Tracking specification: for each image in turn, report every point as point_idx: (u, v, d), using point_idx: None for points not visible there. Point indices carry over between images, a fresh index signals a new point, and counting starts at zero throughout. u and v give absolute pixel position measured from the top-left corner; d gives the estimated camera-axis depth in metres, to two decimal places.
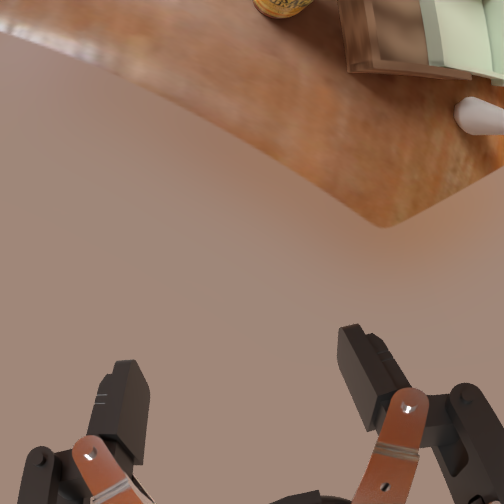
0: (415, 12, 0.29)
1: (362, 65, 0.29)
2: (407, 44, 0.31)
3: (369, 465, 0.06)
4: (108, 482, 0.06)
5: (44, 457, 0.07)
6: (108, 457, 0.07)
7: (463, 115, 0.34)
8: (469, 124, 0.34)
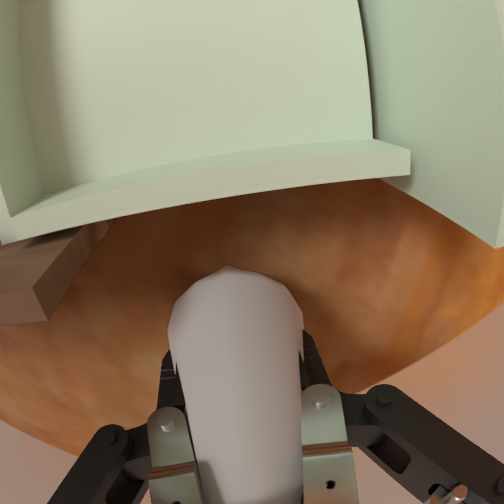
0: None
1: None
2: None
3: (304, 470, 0.06)
4: (173, 459, 0.07)
5: (115, 435, 0.08)
6: (184, 435, 0.08)
7: None
8: None
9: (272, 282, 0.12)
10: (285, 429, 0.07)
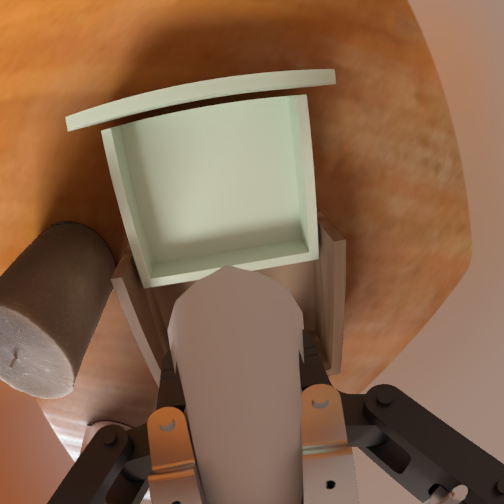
0: None
1: None
2: (280, 275, 0.31)
3: (304, 470, 0.06)
4: (173, 459, 0.07)
5: (115, 435, 0.08)
6: (184, 435, 0.08)
7: None
8: None
9: (272, 282, 0.13)
10: (285, 429, 0.07)
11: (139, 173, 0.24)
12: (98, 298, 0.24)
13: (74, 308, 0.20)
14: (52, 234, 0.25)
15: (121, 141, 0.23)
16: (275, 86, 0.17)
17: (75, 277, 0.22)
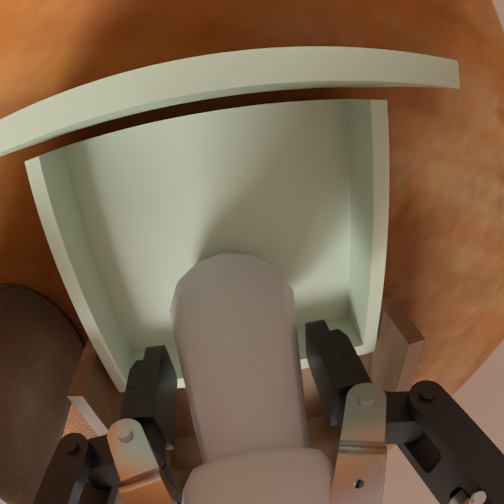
0: None
1: None
2: None
3: (337, 465, 0.06)
4: (138, 468, 0.07)
5: (77, 444, 0.07)
6: (144, 443, 0.07)
7: None
8: None
9: (265, 262, 0.14)
10: (278, 383, 0.09)
11: (98, 226, 0.15)
12: (58, 406, 0.14)
13: (21, 440, 0.10)
14: None
15: (65, 174, 0.13)
16: (359, 78, 0.08)
17: (18, 388, 0.12)
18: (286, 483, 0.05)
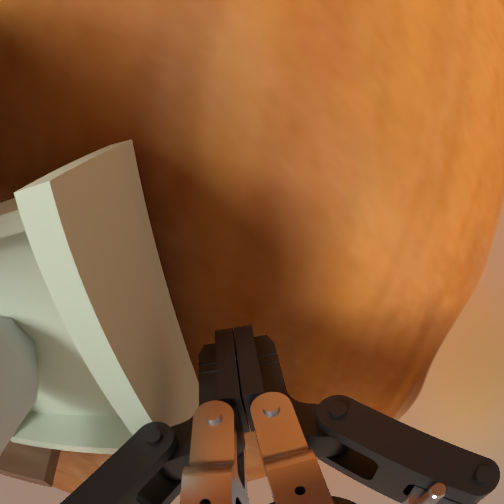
0: None
1: None
2: None
3: (270, 480, 0.06)
4: (213, 455, 0.07)
5: (160, 433, 0.08)
6: (229, 432, 0.08)
7: None
8: None
9: (37, 393, 0.13)
10: None
11: (22, 233, 0.11)
12: None
13: None
14: None
15: None
16: None
17: None
18: None
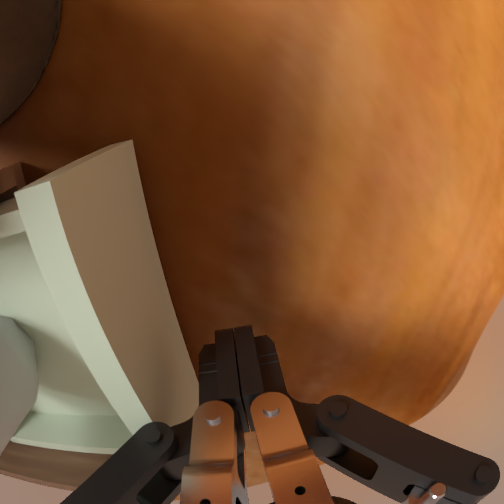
0: None
1: None
2: None
3: (270, 480, 0.06)
4: (213, 455, 0.07)
5: (160, 433, 0.08)
6: (229, 432, 0.08)
7: None
8: None
9: (37, 393, 0.13)
10: None
11: (22, 233, 0.11)
12: None
13: None
14: (29, 4, 0.07)
15: None
16: None
17: None
18: None
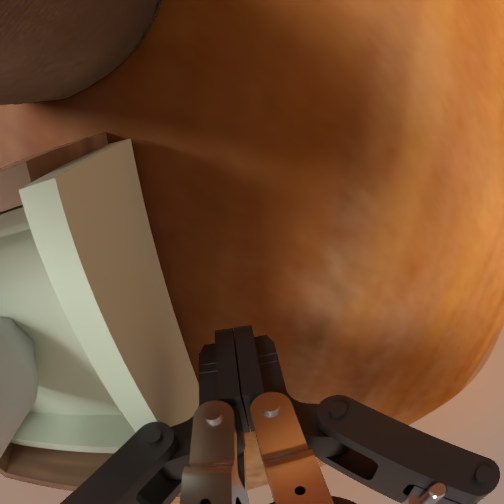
0: None
1: None
2: None
3: (270, 480, 0.06)
4: (213, 455, 0.07)
5: (160, 433, 0.08)
6: (229, 432, 0.08)
7: None
8: None
9: (36, 393, 0.13)
10: None
11: (21, 232, 0.11)
12: None
13: None
14: None
15: None
16: None
17: (31, 41, 0.04)
18: None
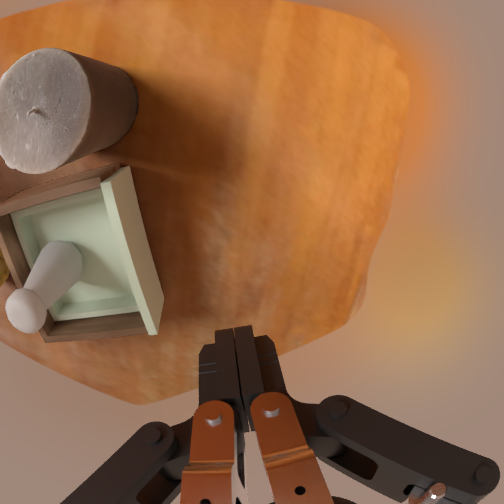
0: None
1: None
2: None
3: (270, 480, 0.06)
4: (213, 455, 0.07)
5: (160, 433, 0.08)
6: (229, 432, 0.08)
7: (49, 245, 0.30)
8: (40, 254, 0.30)
9: (80, 275, 0.33)
10: (53, 299, 0.27)
11: (84, 201, 0.32)
12: None
13: (78, 158, 0.22)
14: (130, 100, 0.27)
15: None
16: (138, 306, 0.31)
17: (100, 145, 0.25)
18: (42, 316, 0.24)
